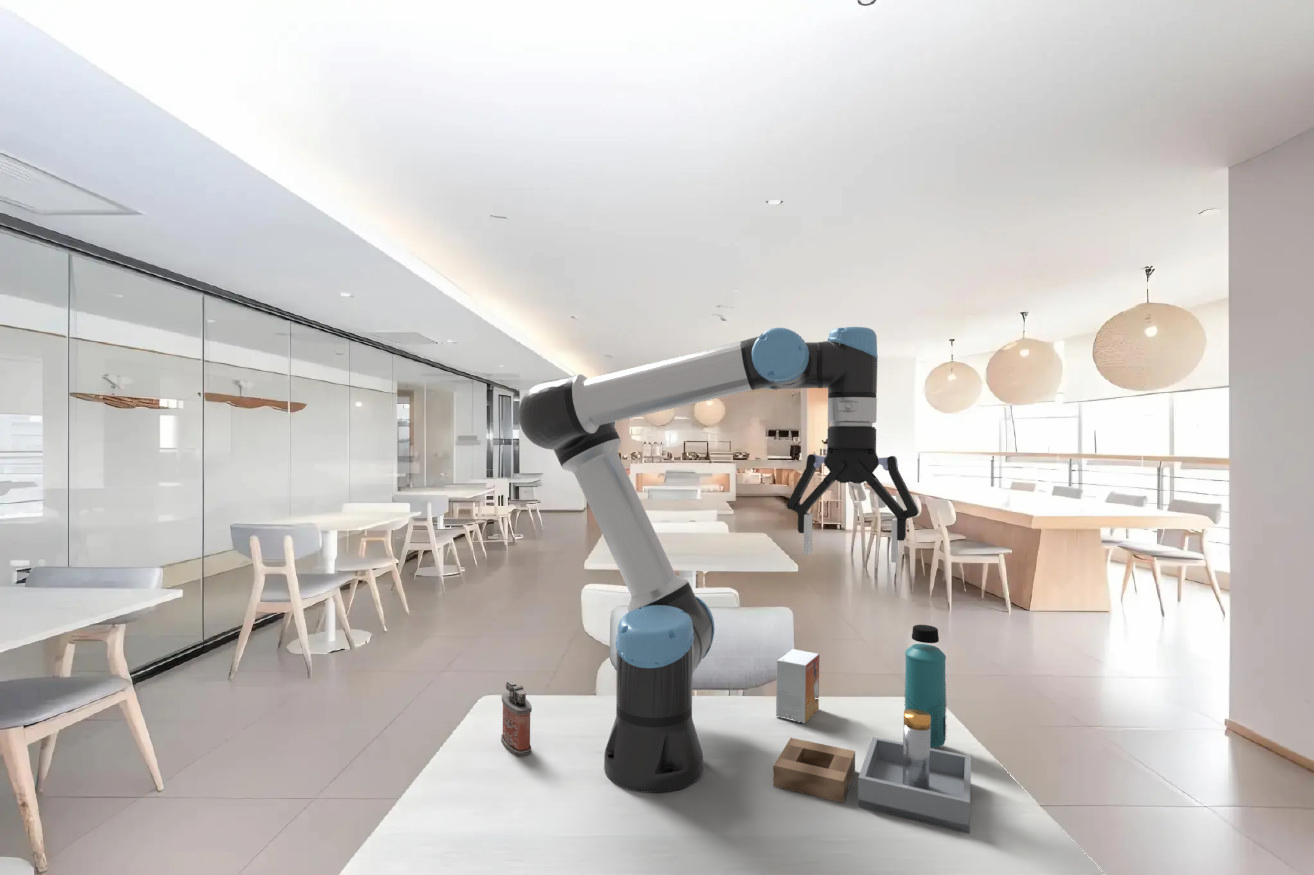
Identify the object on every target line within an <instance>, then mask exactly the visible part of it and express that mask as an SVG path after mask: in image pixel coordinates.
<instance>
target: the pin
mask: <svg viewBox="0 0 1314 875" xmlns="http://www.w3.org/2000/svg"><path fill="white" fill-rule="evenodd" d="M904 710H905V709H904ZM904 710H903V731H902V732H903V733H902V734H903V738H902V739H903V740H902V743H903V781H902V785H906V786H911V787H915V788H920V789H924V790H929V780H930V748H931V747H930V731H931V716H930V714H928V713H927V712H925V711H922V710H917V709H908V710H905V711H904Z"/></svg>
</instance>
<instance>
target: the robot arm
mask: <svg viewBox="0 0 1314 875" xmlns="http://www.w3.org/2000/svg"><path fill="white" fill-rule="evenodd" d="M877 339H878V338H877V334H876V332H875V331H874V329H872V328H869V327H865V326H864V327H863V326H845V327H837V328H834V329H831V330H830V331H829V333H828V337H827V340H825V341H818V342H817V341H816V342H811V341H810V342H805V340H804V338H802V335H800V334H798V333H797V332H795V331H794V330H791V329H789V328H786V327H774V328H770V329H767V330H765V331H764V332H762V333H761V334H760V335H759V336H755V337H752V338H748V339H744V340H739V341H736V342H731V343H728V344H723V345H719V346H716V347H712V348H711V347H710V348H707V349H703V350H699V351H695V352H692V353H688V354H683V355H680V356H675V357H672V358H670V357H669V358H667V359H663V360H658V361H654V362H650V363H647V364H643V365H639V366H634V367H631V368H627V369H623V370H618V371H614V372H611V373H606V374H603V375H598V376H594V377H590V378H588V377H586V376H585V375H584V374H580V373H579V374H576V375H571V376H566V377H563V378H557V379H552V380H545V381H542V382H539V383H537V384H535V385H533V386H532V387H531V388H529V389H528V390H527V391H526V393H525V394H524V396H523V397H522V399H521V401H520V404H519V407H518V422H519V425H520V428H521V430H522V432H523V434H524V436H525V437H526V439H528V440H529V441H530V442H531V443H532V444H534V445H536V446H537V447H540V448H543V449H545V450H553V452H554V454H555V456H556V457H557V460H558V462H559V465H560V467H561V468H562V470H565V471H568V472H571V473H572V474H573V475H574V476H575V479H576V480H577V482H578V485H579V486H580V488H581V489H580V490H581V492H582V493H583V495H584V498H585V500H586V502H587V505H588V506H589V509H590V511H591V512H592V516H593V517H594V519H595V521H596V523H597V525H598V527H599V529H600V532H601V534H602V536H603V539H604V541H605V543H606V545H607V547H608V549H609V552H610V554H611V556H612V557H613V560H614V561H615V564H616V566H617V569H618V570H619V573H620V575H621V577H622V579H623V581H624V583H625V585H626V588H627V590H628V593H629V594H630V601H629V605H628V607H627V612H626V613H625V614H624V615H623V616H622V617H621V619H620V620H619V622H618V625H617V626H618V627H617V633H616V637H615V640H616V641H615V648H616V698H615V699H616V705H615V706H616V712H615V714H616V715H615V720H614V723H613V725H612V728H611V731H610V734H609V738H608V740H607V743H606V747H605V749H604V758H603V759H604V764H603V766H604V767H603V769H604V772H605V774H606V776H607V777H608V778H609V779H610V780H611V781H612V782H614V783H615V784H617V785H619V786H621V787H623V788H626V789H629V790H632V791H637V792H643V793H644V792H645V793H663V792H664V793H665V792H672V791H676V790H680V789H684V788H685V787H688V786H689V785H692V784H693V783H695V782H696V781H697V780H698V779H699V778H700V777H701V775H702V773H703V770H704V766H703V765H704V754H703V749H702V747H701V743H700V740H699V736H698V733H697V730H696V727H695V722H694V721H693V675H694V672H695V670H697V668H698V666H699V665H700V663H701V662H702V660H703V659H704V658H705V657H706V655H707V656H708V653H709V652H710V649H711V647H712V644H713V641H714V637H715V630H716V629H715V628H716V627H715V618H714V616H713V613H712V611H711V610H710V608H709V606H708V605H707V604H706V602H705V601H704V600H703V599H701V598H700V597H699V596H696V595H695V593H694V590H693V588H692V587H691V584H690V582H689V581H688V579H687V578H684V577H681V576H678V575H677V574H676V572H675V571H674V568H673V567H672V565H671V562H670V560H669V558H668V556H667V554H666V552H665V550H664V548H663V545H662V543H661V542H660V539H659V536H658V535H657V533H656V531H655V529H654V527H653V524H652V523H651V521H650V518H649V516H648V514H647V512H646V510H645V507H644V506H643V504H642V501H641V500H640V497H639V496H638V493H637V491H636V489H635V487H634V485H633V482H632V480H631V478H630V476H629V474H628V472H627V470H626V468H625V465H624V463H623V462H622V460H621V457H620V455H619V449H620V447H621V446H620V445H621V443H622V441H621V438H620V436H619V434H618V431H617V429H616V427H615V424H616V422H620V421H625V420H628V419H633V418H636V417H641V416H646V415H651V414H655V413H659V412H663V411H667V410H672V409H676V408H680V407H684V406H689V405H692V404H697V403H702V402H706V401H710V400H715V399H719V398H723V397H728V396H732V395H736V394H741V393H745V392H749V391H753V390H759V389H770V390H774V391H776V390H782V389H784V390H785V389H790V390H791V389H827V391H828V393H827V394H828V395H827V397H828V398H827V400H828V401H827V423H829V424H830V423H831V426H828V428H827V444H826V445H827V450H826V454H825V456H823V455H818V454H815V453H809V454H808V455H807V458H806V463H805V464H806V466H805V468H804V470H803V472H802V475H801V477H800V478H799V480H798V482H797V484H796V486H795V488H794V490H793V492H792V494H791V496H790V497H789V499H788V501H787V504H786V507H787V509H788V510H792V511H794V512H796V513H797V531H798V533H799V534H803V555H805V556H806V555H807V556H808V555H810V554H812V552H813V512H812V513H811V512H809V510H810V509H811V508H812V507H813V506H814V504H816V502H817V501H818V500H819V499H820V498H821V497H822V496H823V495H824V494H825V492H827V491H828V489H829V488H830V487H831V486H832V485H833V484H834V483H835V482H836V481H837V482H839V483H840V484H847V483H853V484H856V485H859V484H862V483H863V484H864V483H865V482H866V483H867V485H868V486H869V487H870V488H872V490H873V491H874V492H875V493H876V494H877V496H878V497H879V498H880V499H881V501H882V502H883V503H884V504H885V506H886V507H887V508H888V509H889V510H890V512H891V513H892V514H893V515H894V517H896V518H893V519H891V534H890V536H891V538H890V539H891V544H890V545H891V547H890V548H891V549H890V553H891V554H890V556H891V557H890V559H891V560H890V562H891V563H898V561H899V541H901V542H904V541H905V540H906V537H907V520H908V519H910V518H914V517H917V516H918V514H919V512H920V511H919V508H918V506H917V504H916V502H915V501H914V498H913V496H912V495H911V493H910V491H909V488H908V487H907V484H906V483H905V480H904V479H903V476H902V475H901V473H900V470H899V468H898V467H899V464H898V458H897V456H895V455H891V456H888V457H887V456H886V457H878V455H877V429H876V427H875V426H873V424H875V423H876V422H877V417H878V416H877V411H878V410H877V407H878V406H877V405H878V404H877V403H878V398H877V390H878V357H879V356H878V340H877ZM822 464H824V465H825V467H826V468H827V470H828V471H829V473H827V475H826V476H825V477H824V478H823V479H822V481H821V482H820V483H819V484H818V485H817V486H816V487H815V489H814V490H813V491H811V493H810V494H809V495H808V497H807V498H805V500H804V501H803V502H802V503H800V502H801V499H802V498H803V496H804V494H805V492H806V489H807V488H808V486H809V484H810V483H811V480H812V478H813V477H814V474H815V472H816V471H817V469H818V468H821V466H822ZM879 465H881V466H882V468H883V470H884V471H888V473H889V476H890V479H891V480H892V483H893V484H894V486H895V488H896V490H897V492H898V494H899V497H900V498H901V500H902V503H903V504H904V506H905V508H906V509H903V508H902V506H901V505H900V504H899V503H898V502H897V500H896V499H895V498H894V497H893V496H892V495H891V493H889V491H888V490H887V488H885V486H884V485H883V483H882V482H881V481H880V480H879V479H878V477H877V476H876V475H875V474H874V471H876V469H877V468H878V466H879Z"/></svg>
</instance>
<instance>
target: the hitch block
mask: <svg viewBox="0 0 1314 875" xmlns="http://www.w3.org/2000/svg"><path fill="white" fill-rule="evenodd" d="M772 772H773V773H772V774H773V779H772V780H773V782H772V783H773V784H772V786H773V787H777V788H781V789H785V790H789V791H793V792H797V793H801V794H805V795H810V796H813V797H818V798H821V799H822V798H823V799H826V800H829V801H834V802H839V803H844V802H845V800H846V797H847V793H848V792H849V791H848V790H849V788H850V785H851V784H852V783H851V782H852V779H853V777H854V775H855V772H856V750H851V749H847V748H843V747H842V748H841V747H837V746H834V745H827V744H822V743H818V742H813V741H808V740H805V739H798V738H795V737H794V738H793V737H790V738H789V740H788V742H787V743H786V745H785V746H784V748H783V749H782V751H781V752H780V754H779V756H778V758H776V760H775V762H774V764H773V771H772Z"/></svg>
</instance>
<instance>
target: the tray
mask: <svg viewBox="0 0 1314 875" xmlns="http://www.w3.org/2000/svg"><path fill="white" fill-rule="evenodd" d="M971 773H972V756H971V755H967V754H961V753H955V752H952V751H946V750H942V749H937V748H933V747H930V780H929V790H924V789H920V788H915V787H911V786H906V785H902V781H903V741H902V742H901V741H897V740H891V739H885V738H881V737H876V736H872V738H871V741H870V744H869V746H868V749H867V752H866V754H865V758H864V761H863V763H862V767H861V769H860V771H859V775H858V778H857V780H858V781H857V783H858V784H857V807H858V808H864V809H867V810H872V811H875V812H879V813H884V814H887V815H891V816H895V817H901V818H905V819H907V820H912V821H916V822H920V823H925V824H929V825H933V826H937V827H941V828H944V829H945V828H946V829H949V830H954V831H959V832H962V833H966V834H970V831H971V830H970V826H971V825H970V824H971V822H970V821H971V783H972V780H971V779H972V776H971V775H972V774H971Z"/></svg>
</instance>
